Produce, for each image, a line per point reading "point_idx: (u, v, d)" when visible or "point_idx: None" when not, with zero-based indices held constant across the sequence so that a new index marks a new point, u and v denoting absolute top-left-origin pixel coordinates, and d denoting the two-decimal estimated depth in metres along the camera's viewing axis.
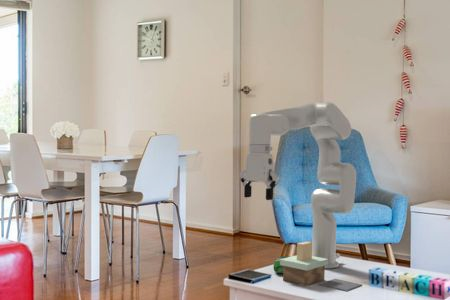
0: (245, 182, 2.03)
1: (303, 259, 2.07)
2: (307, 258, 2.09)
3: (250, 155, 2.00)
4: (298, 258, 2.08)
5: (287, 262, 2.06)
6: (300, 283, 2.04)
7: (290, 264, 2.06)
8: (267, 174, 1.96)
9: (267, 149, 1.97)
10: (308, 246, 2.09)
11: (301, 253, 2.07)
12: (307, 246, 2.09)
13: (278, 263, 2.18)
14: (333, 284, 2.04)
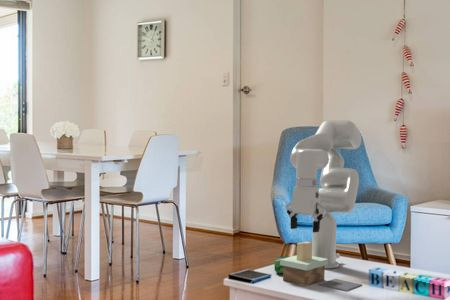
0: (291, 214, 2.11)
1: (303, 259, 2.07)
2: (307, 258, 2.09)
3: (297, 189, 2.08)
4: (298, 258, 2.08)
5: (287, 262, 2.06)
6: (300, 283, 2.04)
7: (290, 264, 2.06)
8: (314, 207, 2.04)
9: (314, 183, 2.05)
10: (308, 246, 2.09)
11: (301, 253, 2.07)
12: (307, 246, 2.09)
13: (279, 263, 2.18)
14: (333, 284, 2.04)
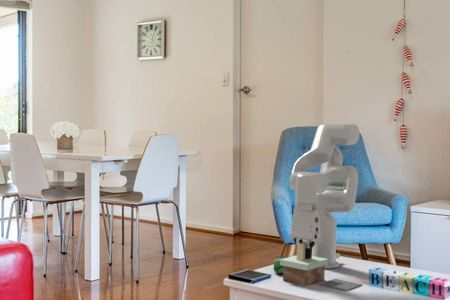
0: (297, 242, 2.10)
1: (303, 259, 2.07)
2: None
3: (297, 213, 2.09)
4: (298, 258, 2.08)
5: (287, 262, 2.06)
6: (300, 283, 2.04)
7: (290, 264, 2.06)
8: (314, 232, 2.05)
9: (314, 208, 2.06)
10: None
11: (301, 253, 2.07)
12: None
13: (278, 263, 2.18)
14: (333, 284, 2.04)
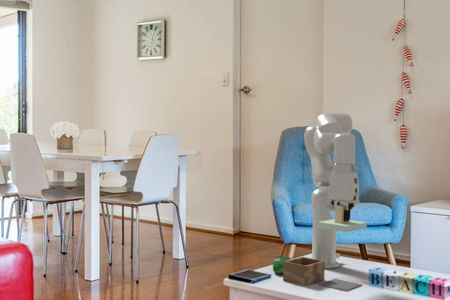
0: (335, 204, 2.04)
1: (341, 221, 2.01)
2: None
3: (335, 174, 2.03)
4: (336, 220, 2.01)
5: (325, 224, 2.00)
6: (300, 283, 2.04)
7: (328, 226, 1.99)
8: (353, 193, 1.99)
9: (353, 168, 2.00)
10: None
11: (339, 215, 2.01)
12: None
13: (278, 263, 2.18)
14: (333, 284, 2.04)
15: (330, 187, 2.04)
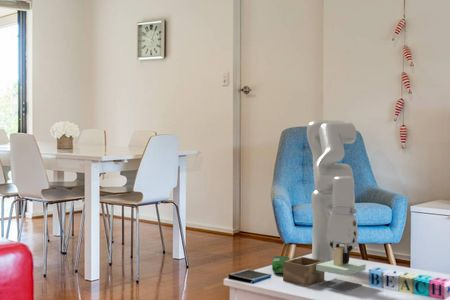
0: (334, 246, 2.04)
1: (340, 264, 2.01)
2: None
3: (333, 216, 2.03)
4: (335, 263, 2.02)
5: (324, 267, 2.00)
6: (300, 283, 2.04)
7: (327, 269, 1.99)
8: (352, 236, 1.99)
9: (351, 211, 2.00)
10: None
11: (338, 258, 2.01)
12: None
13: (277, 263, 2.18)
14: (333, 284, 2.04)
15: (329, 229, 2.04)
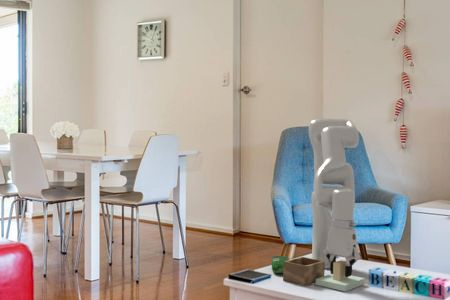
0: (331, 258, 2.05)
1: (340, 279, 2.01)
2: (343, 277, 2.03)
3: (333, 230, 2.03)
4: (334, 278, 2.02)
5: (323, 282, 2.01)
6: (300, 283, 2.04)
7: (326, 284, 2.00)
8: (351, 250, 1.99)
9: (351, 225, 2.00)
10: (344, 266, 2.03)
11: (337, 272, 2.01)
12: (343, 265, 2.03)
13: (277, 263, 2.18)
14: None
15: (328, 242, 2.05)
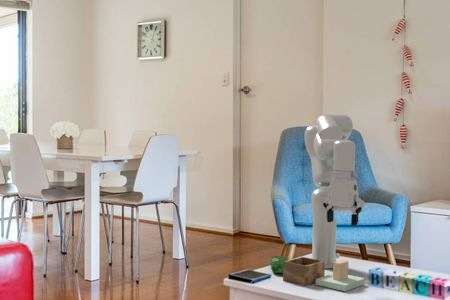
0: (328, 207, 2.06)
1: (340, 279, 2.01)
2: (343, 277, 2.03)
3: (334, 181, 2.03)
4: (334, 278, 2.02)
5: (323, 282, 2.01)
6: (300, 283, 2.04)
7: (326, 284, 2.00)
8: (353, 200, 1.99)
9: (352, 175, 2.00)
10: (344, 266, 2.03)
11: (337, 272, 2.01)
12: (343, 265, 2.03)
13: (277, 263, 2.18)
14: None
15: (330, 194, 2.04)
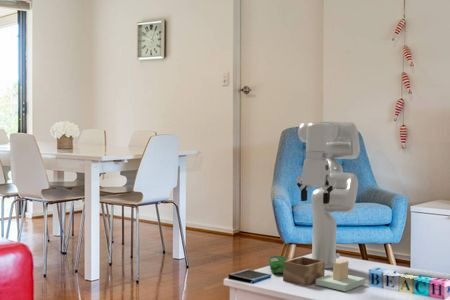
0: (302, 187, 2.16)
1: (340, 279, 2.01)
2: (343, 277, 2.03)
3: (307, 161, 2.13)
4: (334, 278, 2.02)
5: (323, 282, 2.01)
6: (300, 283, 2.04)
7: (326, 284, 2.00)
8: (324, 179, 2.09)
9: (324, 156, 2.10)
10: (344, 266, 2.03)
11: (337, 272, 2.01)
12: (343, 265, 2.03)
13: (276, 263, 2.18)
14: None
15: (303, 174, 2.14)
